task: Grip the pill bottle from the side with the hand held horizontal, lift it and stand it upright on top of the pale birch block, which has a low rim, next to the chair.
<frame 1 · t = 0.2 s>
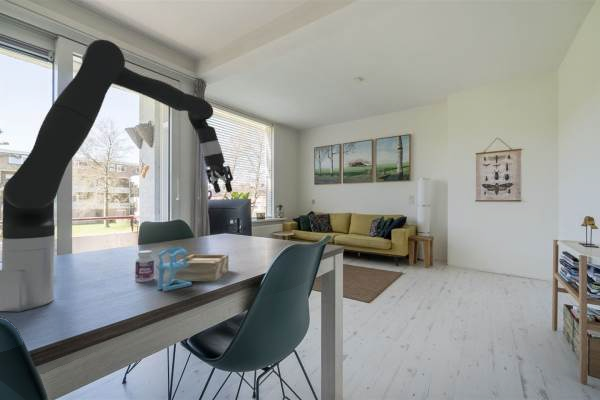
hand: (223, 192, 109), 31 cm above the table, tool tilted 20°, fingers open, 8 cm apart
birch block: (203, 275, 94), on the table
chair: (172, 287, 81), on the table
pill bottle: (144, 280, 88), on the table
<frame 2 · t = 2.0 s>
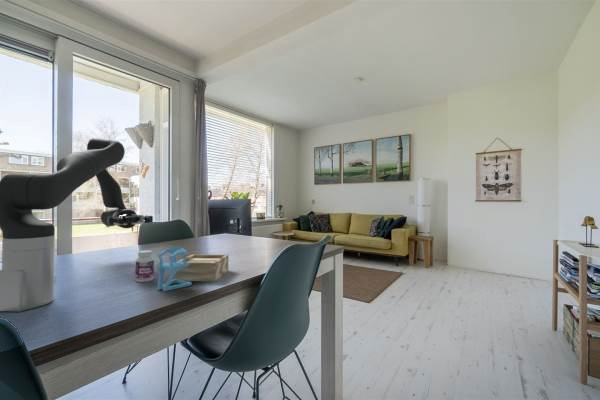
hand: (135, 220, 96), 19 cm above the table, tool horizontal, fingers open, 8 cm apart
nothing on the table moved.
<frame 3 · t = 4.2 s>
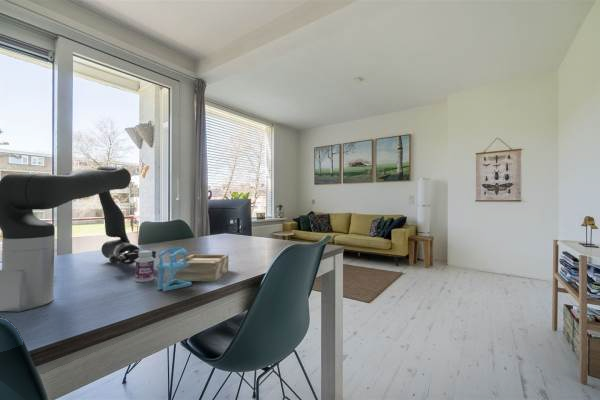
hand: (138, 259, 92), 6 cm above the table, tool horizontal, fingers open, 8 cm apart
nothing on the table moved.
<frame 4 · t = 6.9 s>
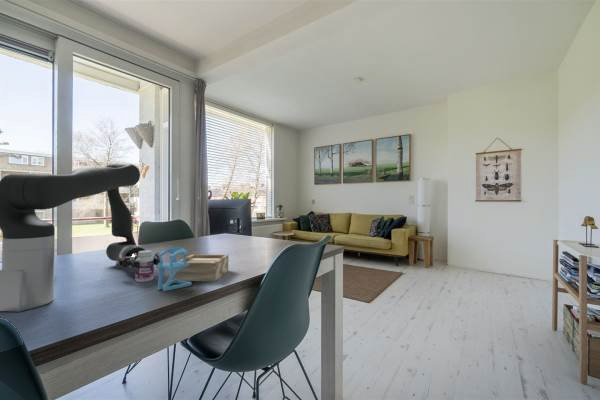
hand: (147, 263, 86), 6 cm above the table, tool horizontal, fingers closed on pill bottle, 5 cm apart
pill bottle: (144, 280, 88), on the table, touching gripper
everything else where it was.
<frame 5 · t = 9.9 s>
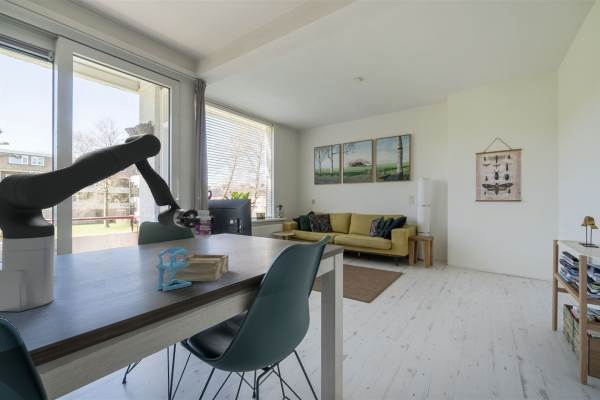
hand: (206, 221, 93), 20 cm above the table, tool horizontal, fingers closed on pill bottle, 5 cm apart
pill bottle: (203, 237, 94), point 13 cm above the table, touching gripper
everything else where it was.
when the fingers open (12 cm above the table, at t = 13.1 s): pill bottle stays where it is, resting on birch block.
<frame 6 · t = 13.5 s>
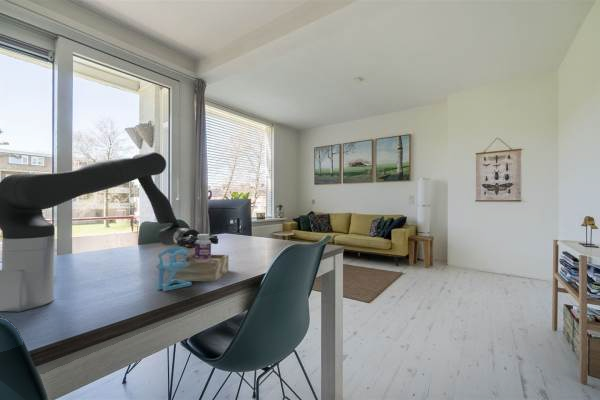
hand: (205, 242, 93), 12 cm above the table, tool horizontal, fingers open, 8 cm apart
pill bottle: (202, 261, 94), point 5 cm above the table, touching birch block
everything else where it was.
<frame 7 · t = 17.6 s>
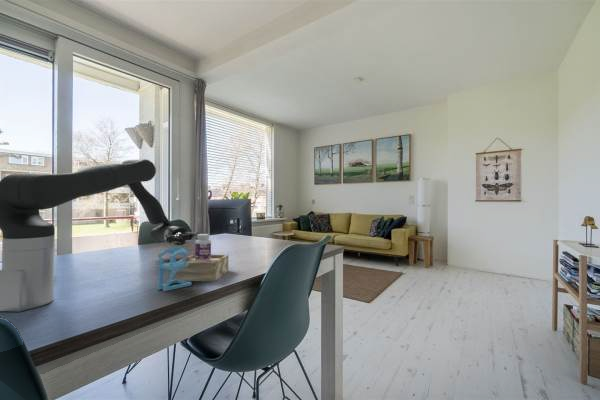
hand: (192, 239, 100), 12 cm above the table, tool horizontal, fingers open, 8 cm apart
nothing on the table moved.
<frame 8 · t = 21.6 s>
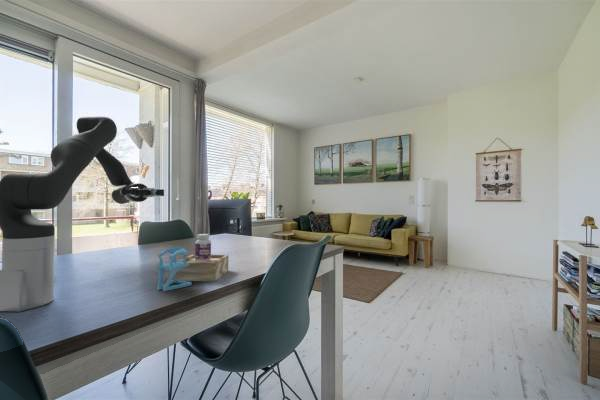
hand: (148, 191, 97), 30 cm above the table, tool horizontal, fingers open, 8 cm apart
nothing on the table moved.
at the end: pill bottle inside the target area on the birch block (0.1 cm from its centre), point 4.8 cm above the birch block's base; pill bottle tilted 0°; the gripper is holding nothing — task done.
